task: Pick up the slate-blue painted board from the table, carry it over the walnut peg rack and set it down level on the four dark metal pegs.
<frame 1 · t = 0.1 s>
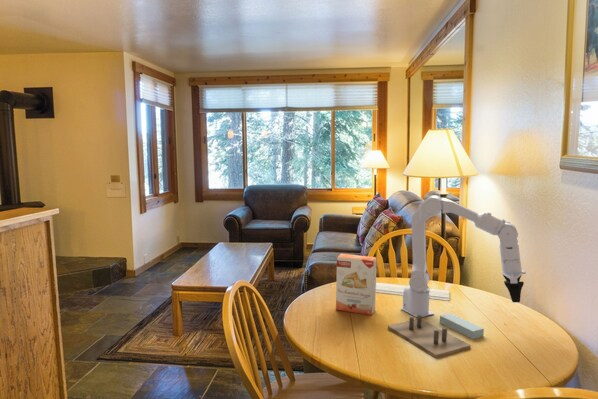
hand: (515, 298, 135), 11 cm above the table, tool pointing down, fingers open, 7 cm apart
peg rack: (427, 337, 129), on the table
baseboard molding: (410, 294, 171), on the table
cracker box: (355, 310, 151), on the table
shelf board: (460, 330, 135), on the table
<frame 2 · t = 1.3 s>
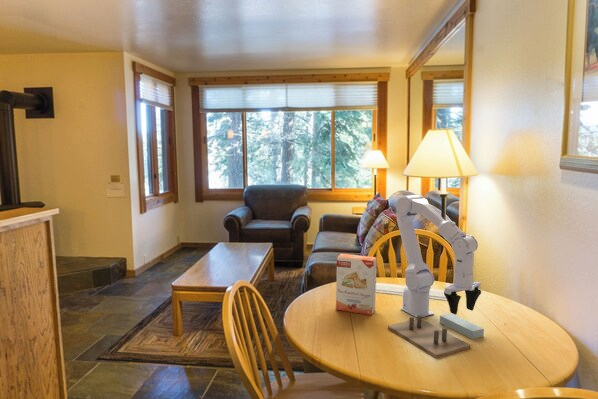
hand: (461, 311, 135), 6 cm above the table, tool pointing down, fingers open, 7 cm apart
nothing on the table moved.
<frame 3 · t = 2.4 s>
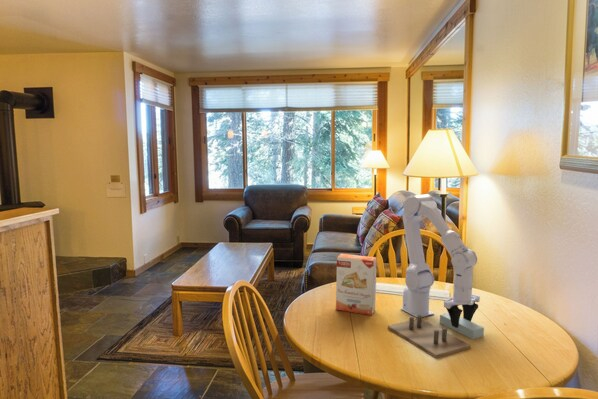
hand: (460, 325, 135), 1 cm above the table, tool pointing down, fingers closed on shelf board, 5 cm apart
shelf board: (460, 329, 135), on the table, touching gripper
everything else where it was.
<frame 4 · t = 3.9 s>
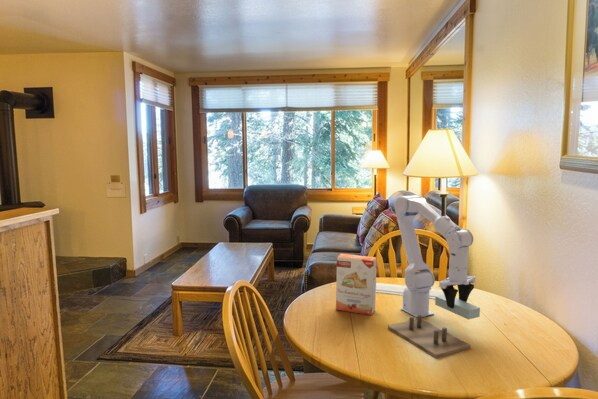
hand: (456, 305, 133), 9 cm above the table, tool pointing down, fingers closed on shelf board, 5 cm apart
shelf board: (456, 310, 133), point 7 cm above the table, touching gripper
everything else where it was.
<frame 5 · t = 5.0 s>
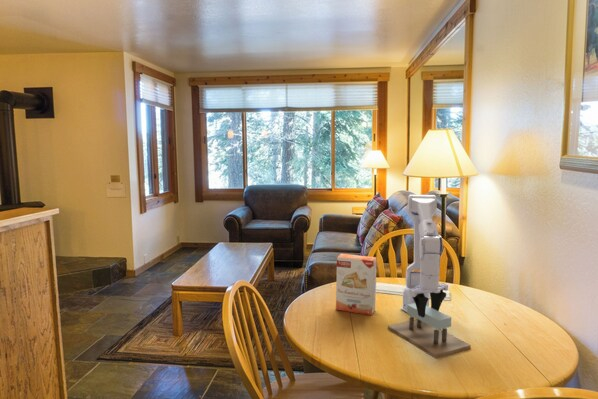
hand: (427, 314, 128), 8 cm above the table, tool pointing down, fingers closed on shelf board, 5 cm apart
shelf board: (428, 319, 128), point 6 cm above the table, touching gripper
everything else where it was.
when the fingers open (7 cm above the table, at t = 5.6 s): shelf board stays where it is, resting on peg rack.
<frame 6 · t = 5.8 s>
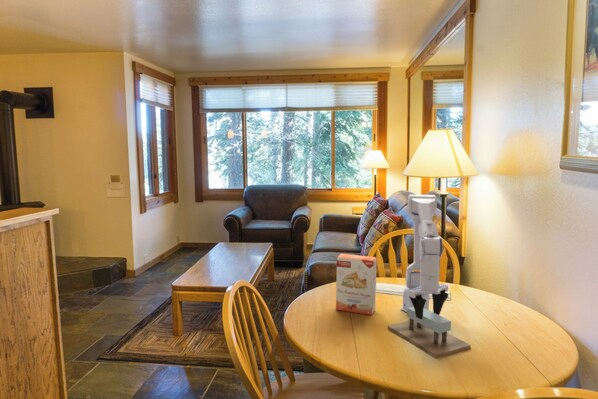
hand: (427, 315, 128), 7 cm above the table, tool pointing down, fingers open, 7 cm apart
shelf board: (427, 323, 128), point 5 cm above the table, touching peg rack
everything else where it was.
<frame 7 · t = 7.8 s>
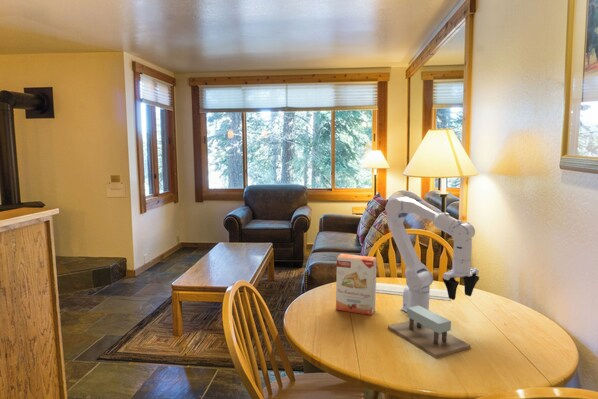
hand: (459, 297, 138), 10 cm above the table, tool pointing down, fingers open, 7 cm apart
nothing on the table moved.
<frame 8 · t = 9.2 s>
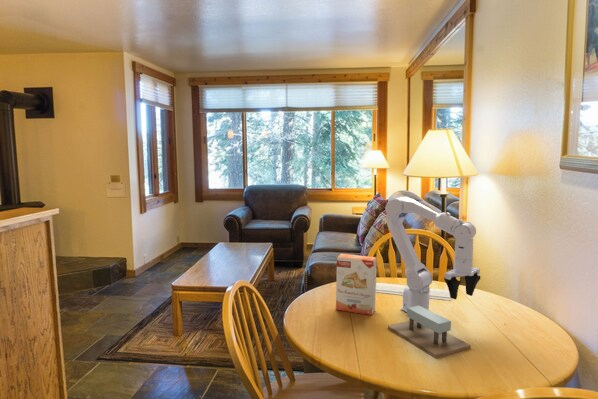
hand: (461, 296, 138), 10 cm above the table, tool pointing down, fingers open, 7 cm apart
nothing on the table moved.
at the end: shelf board 0.2 cm off-centre on the peg rack, point 5.0 cm above the peg rack's base; shelf board tilted 0°; the gripper is holding nothing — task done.
